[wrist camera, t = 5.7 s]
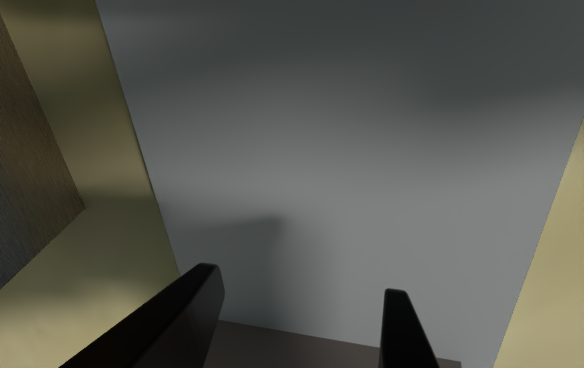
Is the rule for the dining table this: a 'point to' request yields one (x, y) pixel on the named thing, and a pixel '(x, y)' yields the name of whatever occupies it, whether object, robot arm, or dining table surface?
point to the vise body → (353, 161)
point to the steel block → (28, 170)
